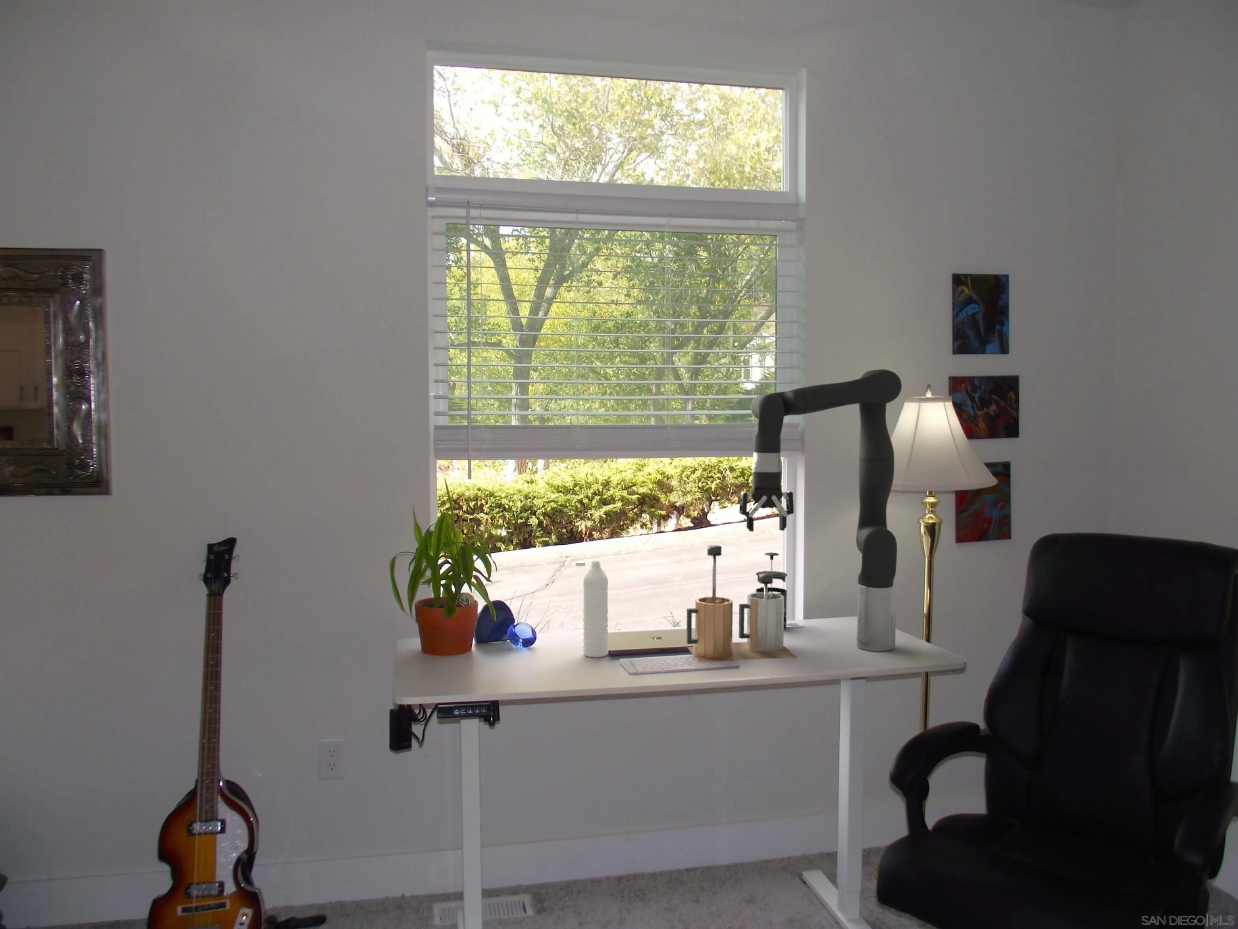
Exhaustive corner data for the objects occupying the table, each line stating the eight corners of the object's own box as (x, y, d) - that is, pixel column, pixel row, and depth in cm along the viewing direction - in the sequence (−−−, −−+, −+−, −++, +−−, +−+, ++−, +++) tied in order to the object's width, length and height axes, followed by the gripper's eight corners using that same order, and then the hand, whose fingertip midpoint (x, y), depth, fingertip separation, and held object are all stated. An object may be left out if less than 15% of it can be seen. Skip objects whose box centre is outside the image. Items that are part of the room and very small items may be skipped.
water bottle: (602, 649, 235) (602, 558, 233) (611, 656, 229) (611, 561, 227) (571, 653, 231) (571, 560, 230) (580, 659, 225) (580, 564, 224)
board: (776, 644, 240) (776, 640, 239) (797, 661, 224) (797, 657, 224) (684, 649, 235) (684, 644, 235) (699, 666, 220) (699, 661, 220)
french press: (793, 634, 250) (794, 555, 249) (761, 636, 249) (762, 556, 247) (778, 624, 262) (779, 549, 260) (748, 626, 260) (749, 549, 259)
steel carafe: (776, 642, 237) (776, 591, 237) (787, 651, 228) (788, 599, 227) (734, 644, 236) (734, 593, 235) (744, 653, 226) (745, 600, 226)
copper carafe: (725, 647, 232) (726, 596, 231) (736, 657, 223) (736, 603, 222) (682, 649, 230) (683, 597, 229) (691, 659, 221) (691, 605, 220)
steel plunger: (773, 631, 236) (773, 571, 235) (781, 637, 229) (782, 576, 228) (749, 632, 235) (750, 572, 234) (757, 638, 228) (757, 577, 227)
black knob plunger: (722, 604, 230) (723, 544, 229) (729, 610, 223) (730, 548, 222) (698, 605, 229) (698, 544, 228) (704, 611, 222) (705, 548, 221)
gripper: (787, 468, 234) (787, 528, 236) (736, 469, 232) (736, 529, 233) (797, 470, 227) (797, 532, 228) (745, 471, 225) (744, 533, 226)
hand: (766, 530), depth 231 cm, fingers open, 8 cm apart
